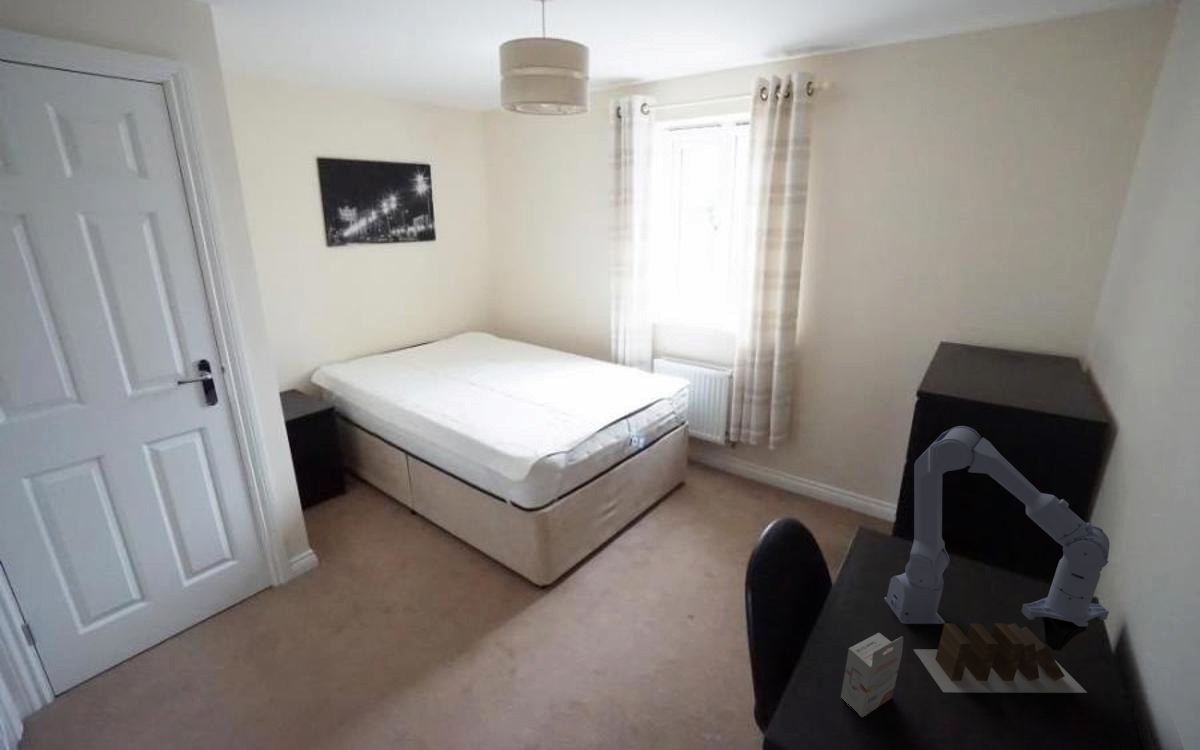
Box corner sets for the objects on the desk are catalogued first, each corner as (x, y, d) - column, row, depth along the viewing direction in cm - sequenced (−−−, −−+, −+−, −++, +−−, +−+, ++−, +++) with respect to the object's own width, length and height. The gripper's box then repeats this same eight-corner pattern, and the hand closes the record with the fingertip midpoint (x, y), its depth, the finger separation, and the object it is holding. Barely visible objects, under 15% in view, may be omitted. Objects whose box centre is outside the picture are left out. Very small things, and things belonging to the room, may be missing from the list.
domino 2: (976, 680, 102) (987, 643, 99) (960, 659, 107) (970, 623, 104) (987, 680, 102) (998, 643, 99) (970, 659, 107) (980, 623, 104)
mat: (942, 693, 100) (943, 692, 99) (912, 650, 109) (913, 649, 109) (1086, 694, 100) (1087, 692, 99) (1044, 651, 109) (1044, 649, 109)
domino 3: (1002, 680, 102) (1013, 643, 99) (985, 659, 107) (994, 623, 104) (1013, 680, 102) (1024, 643, 99) (995, 659, 107) (1004, 623, 104)
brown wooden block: (1055, 681, 102) (1035, 651, 100) (1034, 659, 107) (1016, 631, 104) (1064, 676, 101) (1045, 646, 99) (1044, 654, 106) (1025, 626, 104)
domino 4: (1028, 680, 102) (1023, 646, 99) (1009, 659, 107) (1004, 625, 104) (1039, 678, 102) (1034, 643, 99) (1019, 656, 106) (1014, 622, 104)
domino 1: (950, 680, 102) (961, 643, 99) (935, 659, 107) (944, 623, 104) (961, 680, 102) (971, 643, 99) (945, 659, 107) (954, 623, 104)
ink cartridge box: (868, 679, 103) (881, 617, 98) (892, 699, 98) (907, 636, 94) (838, 697, 99) (850, 634, 94) (861, 719, 95) (875, 654, 90)
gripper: (1050, 603, 94) (1031, 663, 99) (1132, 603, 94) (1109, 663, 99) (1020, 577, 101) (1003, 633, 105) (1097, 577, 101) (1076, 634, 105)
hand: (1052, 646), depth 102 cm, fingers closed
